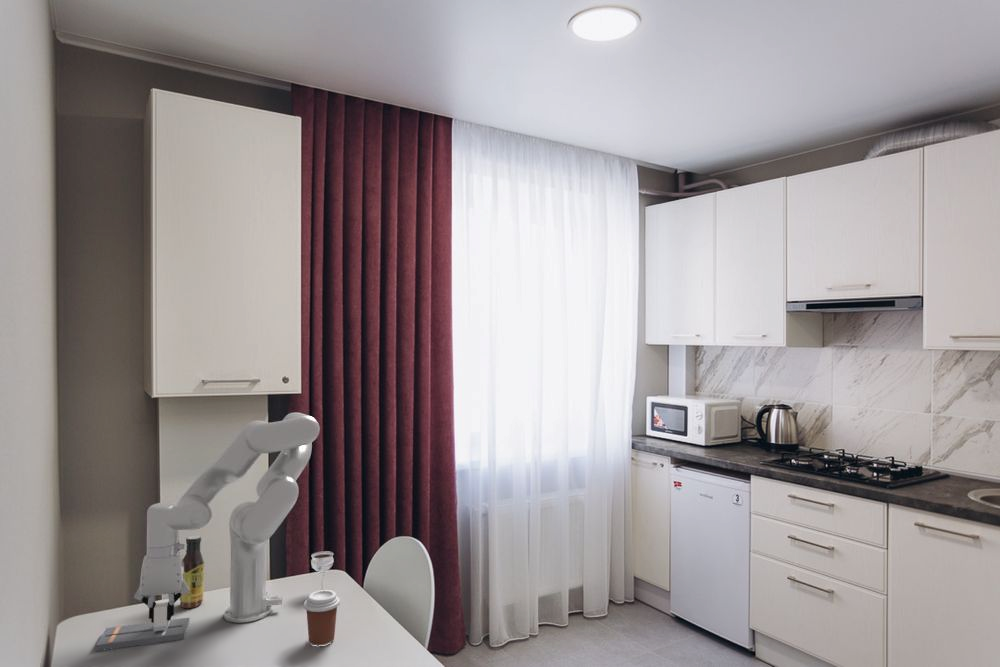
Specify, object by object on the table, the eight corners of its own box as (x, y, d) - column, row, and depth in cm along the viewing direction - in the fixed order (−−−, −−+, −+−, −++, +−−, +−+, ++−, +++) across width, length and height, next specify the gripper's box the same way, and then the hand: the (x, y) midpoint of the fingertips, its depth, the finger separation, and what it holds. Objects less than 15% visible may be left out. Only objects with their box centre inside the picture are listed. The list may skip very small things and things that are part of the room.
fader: (169, 621, 168) (169, 599, 168) (166, 629, 163) (166, 606, 163) (157, 623, 167) (157, 601, 167) (153, 631, 162) (153, 608, 162)
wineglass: (306, 597, 189) (307, 557, 189) (316, 588, 196) (317, 550, 196) (327, 598, 188) (327, 559, 188) (337, 590, 195) (337, 551, 195)
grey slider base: (189, 622, 172) (189, 617, 172) (184, 639, 162) (184, 632, 162) (106, 633, 165) (106, 627, 165) (95, 651, 155) (95, 644, 155)
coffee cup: (301, 636, 164) (302, 591, 164) (336, 630, 167) (337, 586, 167) (305, 652, 155) (305, 604, 155) (342, 645, 159) (342, 598, 159)
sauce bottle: (193, 610, 180) (194, 541, 180) (174, 608, 181) (175, 540, 181) (208, 601, 186) (209, 534, 186) (190, 599, 187) (191, 533, 188)
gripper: (198, 542, 171) (197, 609, 171) (131, 549, 166) (129, 618, 166) (194, 551, 164) (193, 621, 164) (124, 558, 159) (123, 630, 159)
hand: (161, 618), depth 165 cm, fingers closed on fader, 3 cm apart
